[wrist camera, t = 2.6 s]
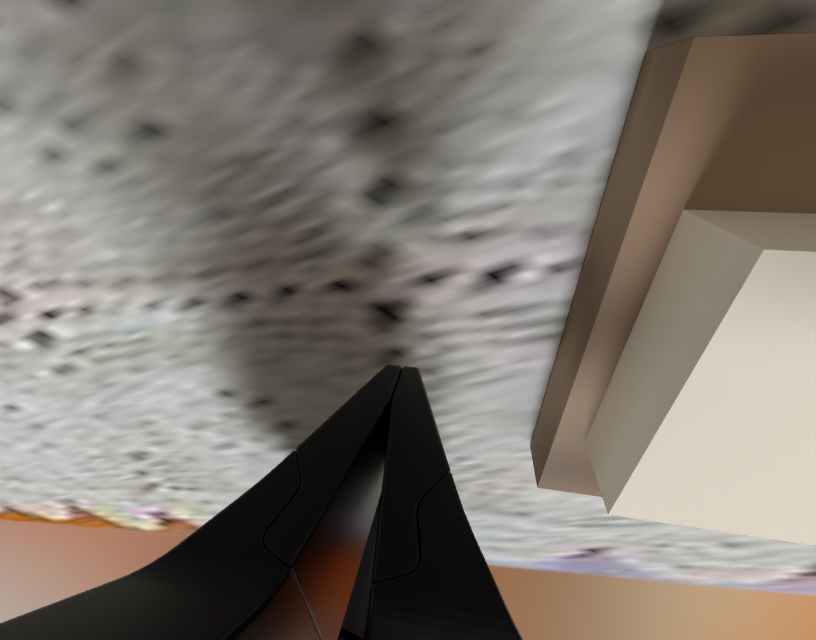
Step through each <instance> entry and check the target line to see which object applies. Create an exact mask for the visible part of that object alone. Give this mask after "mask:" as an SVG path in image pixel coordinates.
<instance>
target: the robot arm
mask: <svg viewBox="0 0 816 640" xmlns="http://www.w3.org/2000/svg"><path fill="white" fill-rule="evenodd" d="M0 640H523V639H522V637H521V635H520V633H519V631H518V629H517V627H516V625H515V623H514V621H513V619H512V617H511V615H510V613H509V611H508V609H507V607H506V605H505V602H504V600H503V598H502V596H501V593H500V591H499V589H498V587H497V585H496V583H495V580H494V578H493V576H492V574H491V572H490V569H489V567H488V565H487V563H486V561H485V558H484V556H483V554H482V552H481V550H480V547H479V545H478V543H477V541H476V539H475V536H474V534H473V532H472V529H471V527H470V524H469V522H468V520H467V517H466V515H465V512H464V510H463V507H462V504H461V501H460V498H459V495H458V492H457V489H456V486H455V483H454V480H453V477H452V474H451V473H450V468H449V464H448V461H447V458H446V455H445V452H444V448H443V445H442V442H441V439H440V435H439V432H438V429H437V426H436V422H435V419H434V416H433V413H432V410H431V406H430V403H429V400H428V397H427V393H426V390H425V387H424V384H423V380H422V377H421V374H420V371H419V369H418V368H417V367H408V366H405V367H403V368H402V367H401V366H398V365H386V366H385V367H384V368H383V369H382V370H381V371H380V372H379V373H377V374H376V375H375V376H374V377H373V378H372V379H371V380H370V381H369V382H368V383H367V384H366V385H364V386H363V387H362V388H361V389H360V390H359V391H358V392H357V393H356V394H355V395H354V396H353V397H351V398H350V399H349V400H348V401H347V402H346V403H345V404H344V405H343V406H342V407H341V408H339V409H338V410H337V411H336V412H335V413H334V414H333V415H332V416H331V417H330V418H329V419H328V420H326V421H325V422H324V423H323V424H322V425H321V426H320V427H319V428H318V429H317V430H316V431H315V432H313V433H312V434H311V435H310V436H309V437H308V438H307V439H306V440H305V441H304V442H303V443H302V444H300V445H299V446H298V447H297V448H296V451H293V452H292V453H291V454H289V455H288V456H287V457H286V458H285V459H284V460H283V461H282V462H281V463H280V464H278V465H277V466H276V467H275V468H274V469H273V470H272V471H270V472H269V473H268V474H267V475H266V476H265V477H264V478H263V479H261V480H260V481H259V482H258V483H256V484H255V485H254V486H253V487H251V488H250V489H249V490H248V491H246V492H245V493H244V494H243V495H241V496H240V497H239V498H238V499H236V500H235V501H234V502H233V503H231V504H230V505H229V506H227V507H226V508H225V509H223V510H222V511H221V512H220V513H218V514H217V515H216V516H214V517H213V518H212V519H210V520H209V521H208V522H207V523H205V524H204V525H203V526H201V527H200V528H199V529H197V530H196V531H195V532H194V533H192V534H191V535H190V536H188V537H187V538H186V539H184V540H183V541H182V542H181V543H179V544H178V545H177V546H175V547H174V548H172V549H171V550H170V551H168V552H167V553H166V554H164V555H163V556H161V557H159V558H158V559H156V560H155V561H153V562H152V563H150V564H148V565H146V566H144V567H143V568H141V569H139V570H137V571H135V572H133V573H131V574H129V575H126V576H124V577H122V578H119V579H116V580H114V581H111V582H108V583H106V584H103V585H101V586H98V587H95V588H92V589H90V590H87V591H85V592H82V593H79V594H76V595H74V596H71V597H69V598H66V599H63V600H61V601H58V602H55V603H53V604H50V605H48V606H45V607H42V608H39V609H37V610H34V611H32V612H29V613H26V614H24V615H21V616H18V617H16V618H13V619H10V620H8V621H5V622H2V623H0Z"/></svg>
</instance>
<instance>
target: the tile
mask: <svg viewBox="0 0 816 640" xmlns="http://www.w3.org/2000/svg"><path fill="white" fill-rule="evenodd" d="M584 443H585V446H586V449H587V452H588V455H589V458H590V461H591V464H592V467H593V470H594V473H595V476H596V479H597V482H598V485H599V488H600V491H601V494H602V497H603V500H604V503H605V506H606V509H607V512H608V515H614V516H621V517H628V518H635V519H641V520H648V521H655V522H662V523H668V524H675V525H682V526H688V527H695V528H702V529H709V530H715V531H722V532H729V533H736V534H742V535H749V536H756V537H762V538H769V539H776V540H783V541H789V542H796V543H803V544H810V545H816V214H806V213H775V212H744V211H713V210H683V211H682V213H681V216H680V218H679V220H678V223H677V225H676V227H675V230H674V232H673V234H672V237H671V239H670V242H669V244H668V246H667V249H666V251H665V253H664V256H663V258H662V260H661V263H660V265H659V267H658V270H657V272H656V274H655V277H654V279H653V282H652V284H651V286H650V289H649V291H648V293H647V296H646V298H645V300H644V303H643V305H642V307H641V310H640V312H639V315H638V317H637V319H636V322H635V324H634V326H633V329H632V331H631V333H630V336H629V338H628V340H627V343H626V345H625V348H624V350H623V352H622V355H621V357H620V359H619V362H618V364H617V366H616V369H615V371H614V373H613V376H612V378H611V381H610V383H609V385H608V388H607V390H606V392H605V395H604V397H603V399H602V402H601V404H600V406H599V409H598V411H597V414H596V416H595V418H594V421H593V423H592V425H591V428H590V430H589V432H588V435H587V437H586V439H585V442H584Z"/></svg>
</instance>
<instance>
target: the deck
mask: <svg viewBox="0 0 816 640" xmlns="http://www.w3.org/2000/svg"><path fill="white" fill-rule="evenodd" d="M683 210H713V211H744V212H775V213H806V214H816V33H801V34H769V35H736V36H704V37H692V38H689V39H685V40H682V41H679V42H676V43H672V44H669V45H666V46H663V47H659V48H656V49H653V50H650V51H646V54H645V57H644V61H643V64H642V67H641V71H640V74H639V78H638V81H637V84H636V88H635V91H634V95H633V98H632V101H631V105H630V108H629V112H628V115H627V118H626V122H625V125H624V129H623V132H622V135H621V139H620V142H619V146H618V149H617V152H616V156H615V159H614V163H613V166H612V169H611V173H610V176H609V180H608V183H607V186H606V190H605V193H604V197H603V200H602V203H601V207H600V210H599V214H598V217H597V220H596V224H595V227H594V231H593V234H592V237H591V241H590V244H589V248H588V251H587V254H586V258H585V261H584V265H583V268H582V271H581V275H580V278H579V282H578V285H577V288H576V292H575V295H574V299H573V302H572V305H571V309H570V312H569V316H568V319H567V322H566V326H565V329H564V333H563V336H562V339H561V343H560V346H559V350H558V353H557V356H556V360H555V363H554V367H553V370H552V373H551V377H550V380H549V384H548V387H547V390H546V394H545V397H544V401H543V404H542V407H541V411H540V414H539V418H538V421H537V424H536V428H535V431H534V435H533V438H532V441H531V445H530V447H531V453H532V459H533V465H534V471H535V477H536V482H537V488H544V489H551V490H558V491H565V492H572V493H579V494H586V495H593V496H600V497H602V494H601V491H600V488H599V485H598V482H597V479H596V476H595V473H594V470H593V467H592V464H591V461H590V458H589V455H588V452H587V449H586V446H585V443H584V442H585V439H586V437H587V435H588V432H589V430H590V428H591V425H592V423H593V421H594V418H595V416H596V414H597V411H598V409H599V406H600V404H601V402H602V399H603V397H604V395H605V392H606V390H607V388H608V385H609V383H610V381H611V378H612V376H613V373H614V371H615V369H616V366H617V364H618V362H619V359H620V357H621V355H622V352H623V350H624V348H625V345H626V343H627V340H628V338H629V336H630V333H631V331H632V329H633V326H634V324H635V322H636V319H637V317H638V315H639V312H640V310H641V307H642V305H643V303H644V300H645V298H646V296H647V293H648V291H649V289H650V286H651V284H652V282H653V279H654V277H655V274H656V272H657V270H658V267H659V265H660V263H661V260H662V258H663V256H664V253H665V251H666V249H667V246H668V244H669V242H670V239H671V237H672V234H673V232H674V230H675V227H676V225H677V223H678V220H679V218H680V216H681V213H682V211H683Z"/></svg>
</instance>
